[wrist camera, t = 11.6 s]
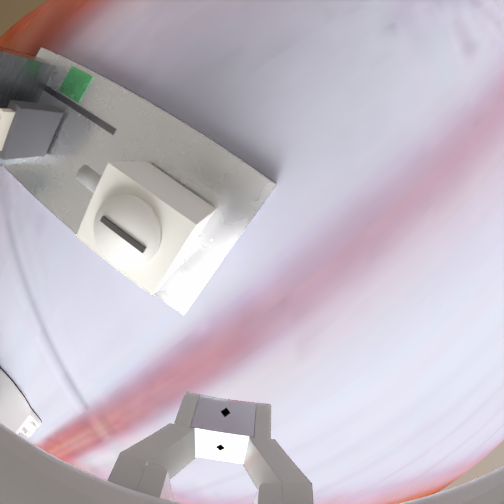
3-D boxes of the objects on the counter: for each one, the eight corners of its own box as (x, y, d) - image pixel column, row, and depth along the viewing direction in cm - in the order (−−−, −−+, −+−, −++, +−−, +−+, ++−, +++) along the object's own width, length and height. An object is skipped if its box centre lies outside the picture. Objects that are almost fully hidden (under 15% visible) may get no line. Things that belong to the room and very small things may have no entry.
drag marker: (63, 113, 18) (10, 107, 12) (45, 156, 19) (-9, 161, 13) (51, 104, 17) (-1, 98, 11) (33, 146, 19) (-19, 150, 13)
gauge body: (216, 208, 19) (191, 228, 14) (179, 266, 20) (147, 302, 15) (116, 140, 18) (66, 138, 13) (88, 198, 20) (38, 212, 14)
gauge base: (276, 184, 20) (276, 198, 12) (189, 306, 23) (152, 371, 15) (50, 50, 17) (-9, 32, 9) (4, 155, 21) (-56, 163, 13)
